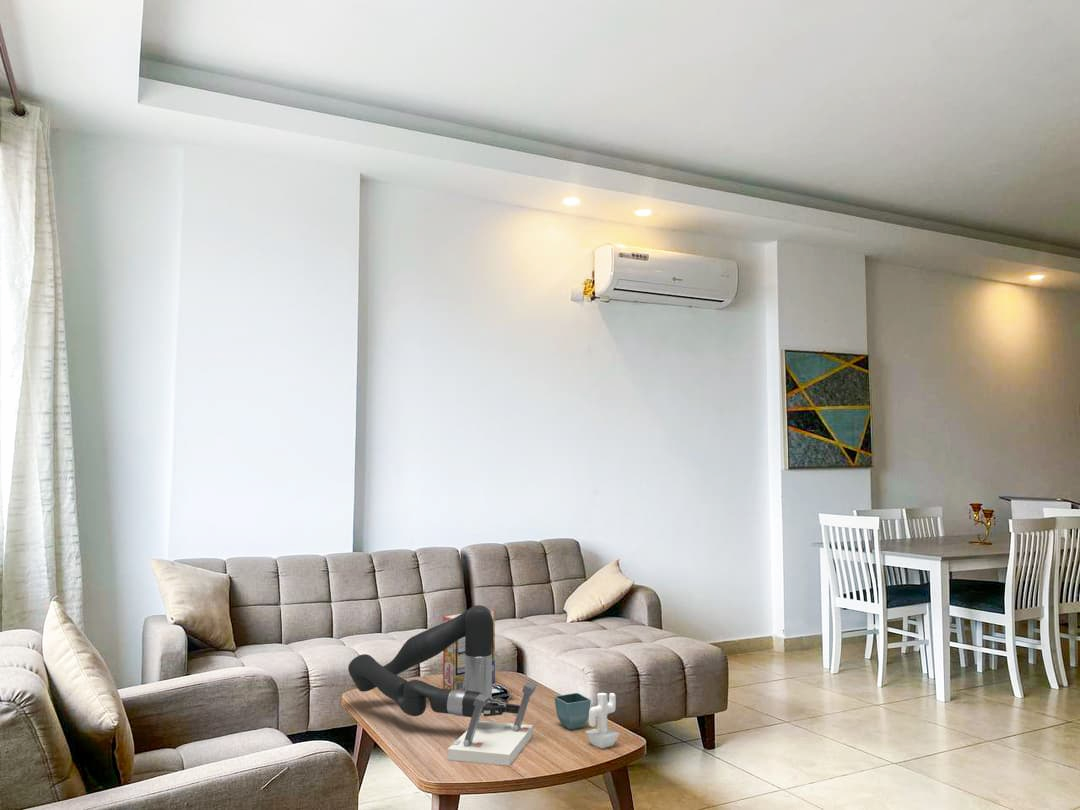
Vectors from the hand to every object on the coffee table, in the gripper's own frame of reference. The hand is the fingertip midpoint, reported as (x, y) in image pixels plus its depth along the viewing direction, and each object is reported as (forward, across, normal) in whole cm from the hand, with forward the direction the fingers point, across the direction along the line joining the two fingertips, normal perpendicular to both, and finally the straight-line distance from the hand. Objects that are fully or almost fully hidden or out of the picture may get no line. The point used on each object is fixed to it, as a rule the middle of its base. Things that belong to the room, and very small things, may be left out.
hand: (519, 709), depth 249 cm
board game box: (-33, -50, -10) cm, 61 cm away
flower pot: (+13, -16, -9) cm, 23 cm away
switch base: (-6, +8, -9) cm, 13 cm away
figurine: (+25, -2, -8) cm, 27 cm away
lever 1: (-11, +16, -6) cm, 20 cm away
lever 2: (-1, 0, -6) cm, 6 cm away
